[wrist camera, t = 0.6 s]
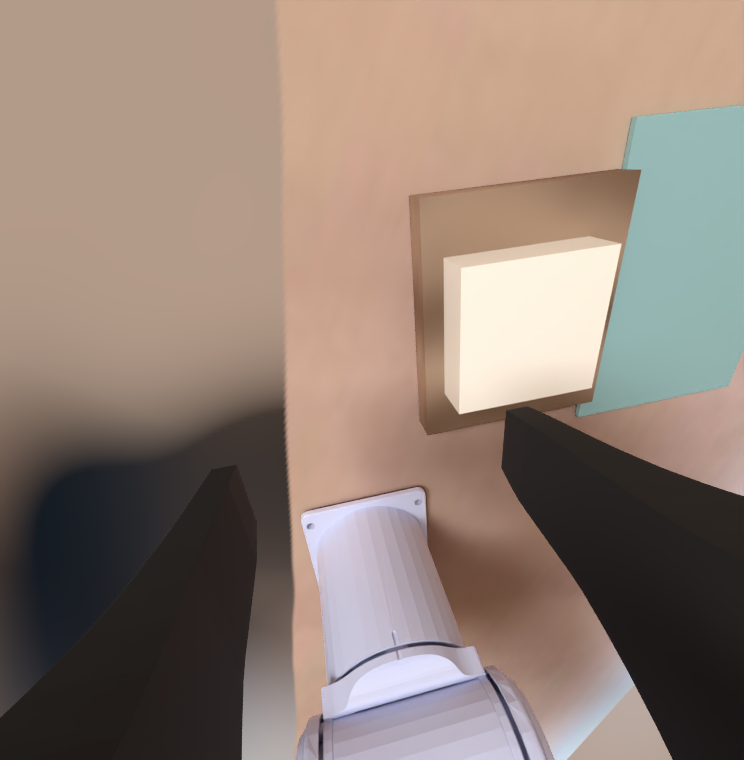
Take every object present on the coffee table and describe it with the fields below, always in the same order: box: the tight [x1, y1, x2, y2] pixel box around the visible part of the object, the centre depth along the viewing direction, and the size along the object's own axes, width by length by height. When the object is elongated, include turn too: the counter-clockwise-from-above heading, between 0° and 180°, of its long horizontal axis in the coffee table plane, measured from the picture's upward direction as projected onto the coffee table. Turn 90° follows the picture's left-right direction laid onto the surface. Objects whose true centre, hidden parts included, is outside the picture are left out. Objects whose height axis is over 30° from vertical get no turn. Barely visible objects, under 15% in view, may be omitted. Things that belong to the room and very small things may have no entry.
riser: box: [409, 169, 641, 435], centre depth 20 cm, size 12×10×2 cm
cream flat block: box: [444, 236, 621, 414], centre depth 18 cm, size 7×7×2 cm
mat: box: [575, 105, 744, 417], centre depth 22 cm, size 16×11×1 cm
